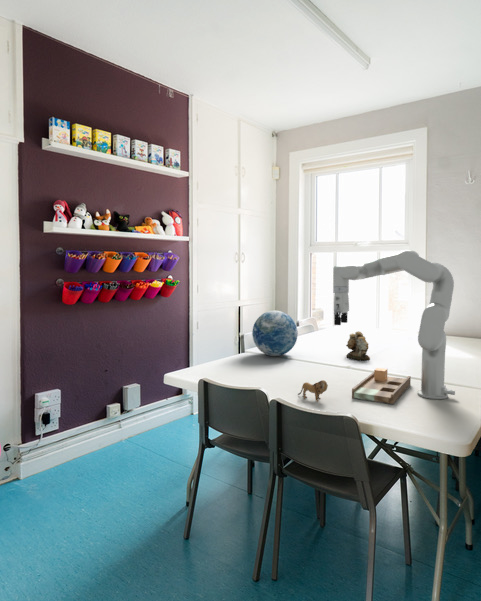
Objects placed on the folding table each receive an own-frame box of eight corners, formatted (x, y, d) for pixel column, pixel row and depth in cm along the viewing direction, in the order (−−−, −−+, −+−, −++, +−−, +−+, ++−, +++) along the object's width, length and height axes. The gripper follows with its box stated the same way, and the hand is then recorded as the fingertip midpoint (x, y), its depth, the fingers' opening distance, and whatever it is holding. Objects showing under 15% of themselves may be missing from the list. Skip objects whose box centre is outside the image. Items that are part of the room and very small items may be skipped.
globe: (306, 354, 288) (306, 309, 286) (278, 362, 267) (278, 314, 264) (272, 349, 309) (271, 307, 306) (243, 356, 287) (242, 311, 285)
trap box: (410, 385, 214) (410, 376, 214) (393, 404, 186) (393, 394, 185) (373, 380, 224) (373, 371, 224) (351, 398, 196) (352, 388, 195)
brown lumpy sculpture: (340, 356, 282) (340, 330, 281) (353, 354, 288) (354, 328, 286) (361, 361, 266) (361, 334, 265) (374, 359, 272) (375, 332, 271)
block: (387, 378, 216) (387, 368, 215) (384, 381, 211) (384, 371, 211) (377, 377, 218) (377, 367, 218) (374, 379, 214) (374, 369, 214)
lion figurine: (329, 399, 195) (329, 379, 194) (324, 402, 191) (324, 382, 190) (300, 394, 203) (300, 375, 203) (294, 397, 199) (294, 377, 198)
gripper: (342, 291, 209) (342, 326, 210) (353, 288, 223) (353, 322, 225) (327, 290, 213) (327, 325, 214) (339, 288, 227) (339, 321, 229)
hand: (340, 323), depth 219 cm, fingers open, 9 cm apart
